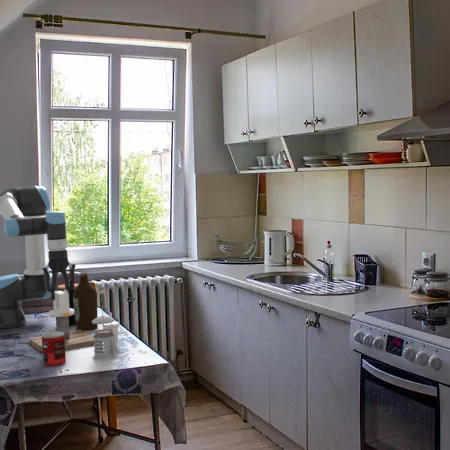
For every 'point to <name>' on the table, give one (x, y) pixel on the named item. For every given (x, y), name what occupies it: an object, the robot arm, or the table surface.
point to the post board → (72, 338)
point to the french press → (104, 339)
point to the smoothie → (113, 329)
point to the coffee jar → (70, 303)
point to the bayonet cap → (62, 306)
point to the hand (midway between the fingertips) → (61, 306)
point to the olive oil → (85, 304)
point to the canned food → (53, 348)
